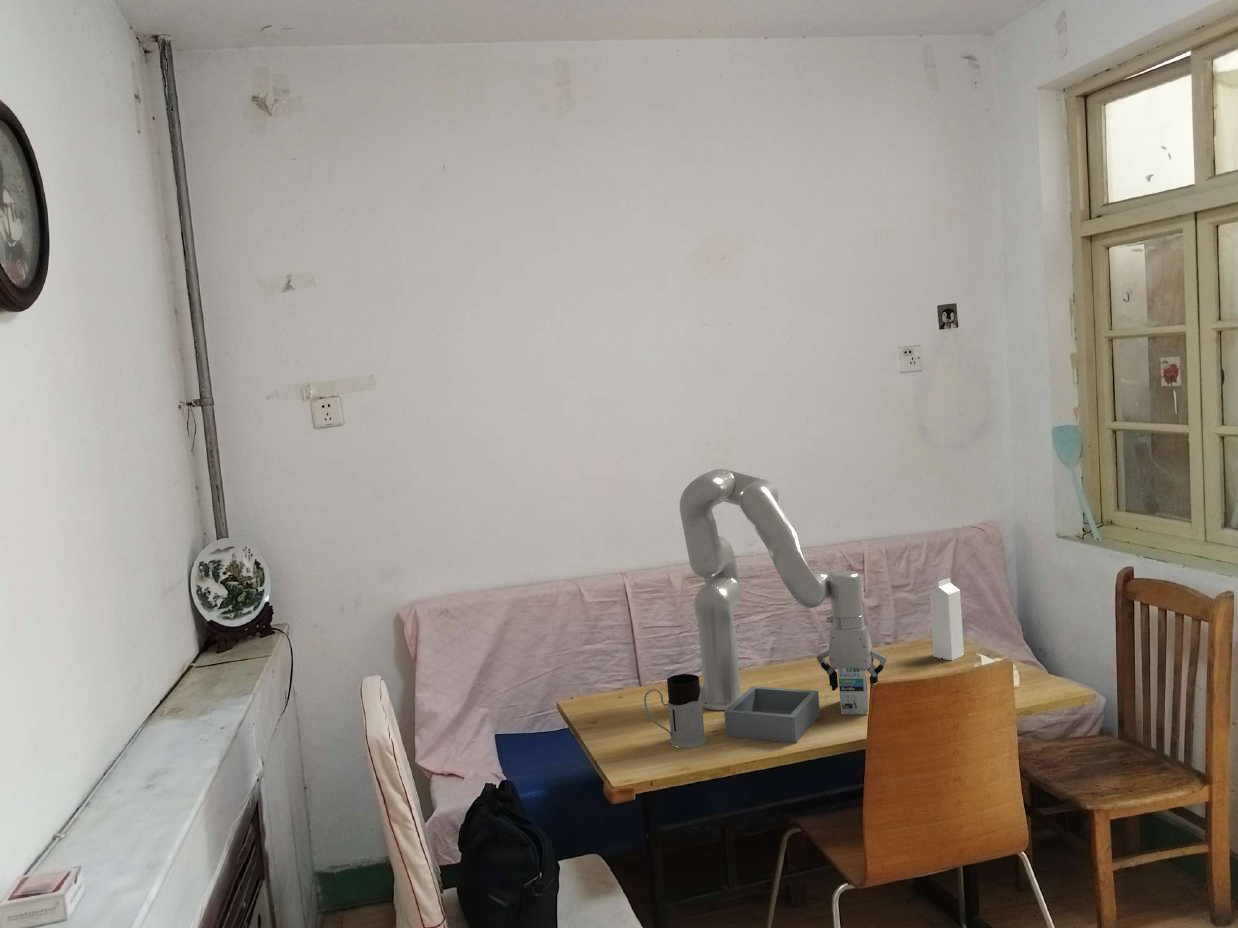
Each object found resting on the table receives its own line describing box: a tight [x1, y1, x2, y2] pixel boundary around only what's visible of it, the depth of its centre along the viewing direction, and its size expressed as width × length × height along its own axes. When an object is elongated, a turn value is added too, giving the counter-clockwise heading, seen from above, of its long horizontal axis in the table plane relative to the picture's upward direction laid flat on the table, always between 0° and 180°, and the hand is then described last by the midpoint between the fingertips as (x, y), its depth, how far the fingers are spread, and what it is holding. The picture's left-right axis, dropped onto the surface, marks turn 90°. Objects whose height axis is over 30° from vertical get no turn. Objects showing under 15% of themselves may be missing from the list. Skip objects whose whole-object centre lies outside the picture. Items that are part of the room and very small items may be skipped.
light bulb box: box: [837, 668, 869, 716], centre depth 243 cm, size 11×7×11 cm, turn 167°
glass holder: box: [643, 673, 708, 749], centre depth 230 cm, size 9×14×15 cm, turn 107°
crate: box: [723, 685, 821, 744], centre depth 236 cm, size 17×19×6 cm
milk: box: [929, 577, 965, 661], centre depth 277 cm, size 6×6×22 cm
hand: (854, 689), depth 243 cm, fingers open, 9 cm apart
